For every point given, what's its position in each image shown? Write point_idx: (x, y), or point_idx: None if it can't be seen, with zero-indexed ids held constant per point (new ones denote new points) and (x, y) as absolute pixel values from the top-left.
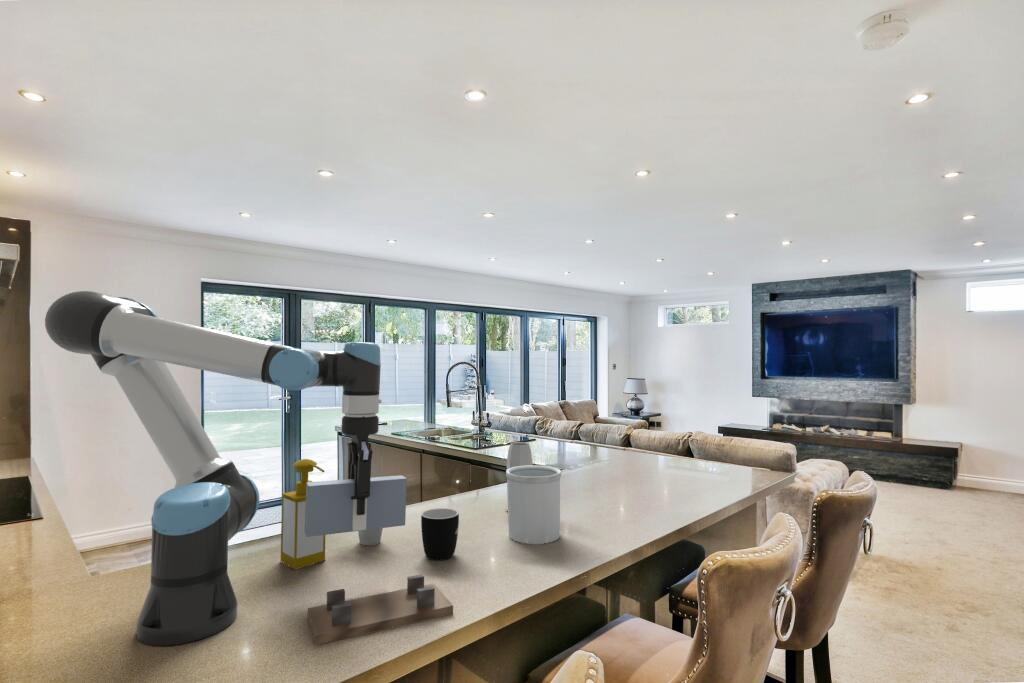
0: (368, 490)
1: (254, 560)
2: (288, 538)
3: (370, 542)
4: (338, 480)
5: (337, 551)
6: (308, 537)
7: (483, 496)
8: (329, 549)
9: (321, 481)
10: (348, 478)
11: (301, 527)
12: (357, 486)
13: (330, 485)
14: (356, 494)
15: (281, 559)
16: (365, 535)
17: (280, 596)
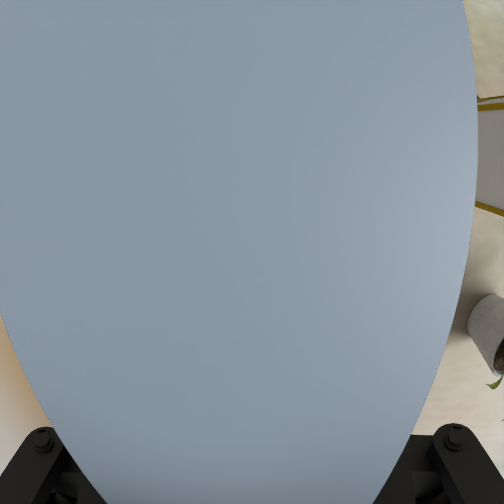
0: (47, 501)
1: (498, 54)
2: (499, 101)
3: (472, 319)
4: (352, 482)
5: (482, 238)
6: (482, 153)
7: (500, 472)
8: (499, 222)
9: (446, 145)
10: (469, 487)
11: (500, 127)
12: (14, 491)
13: (15, 317)
14: (33, 442)
15: (481, 98)
16: (487, 316)
17: None
